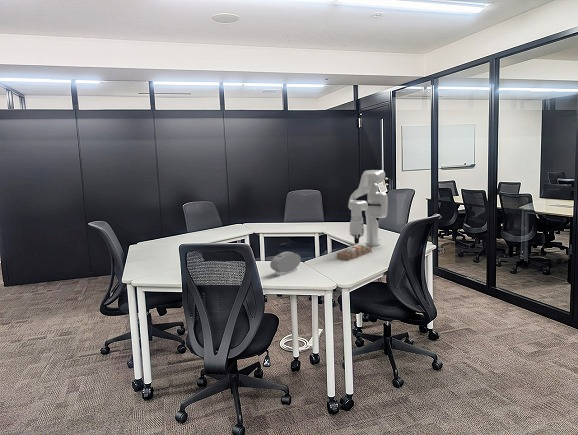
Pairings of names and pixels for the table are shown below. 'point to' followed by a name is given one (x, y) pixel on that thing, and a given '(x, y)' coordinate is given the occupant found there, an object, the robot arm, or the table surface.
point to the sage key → (363, 245)
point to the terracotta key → (357, 247)
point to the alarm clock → (285, 263)
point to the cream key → (351, 249)
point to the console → (353, 253)
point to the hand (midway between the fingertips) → (356, 243)
